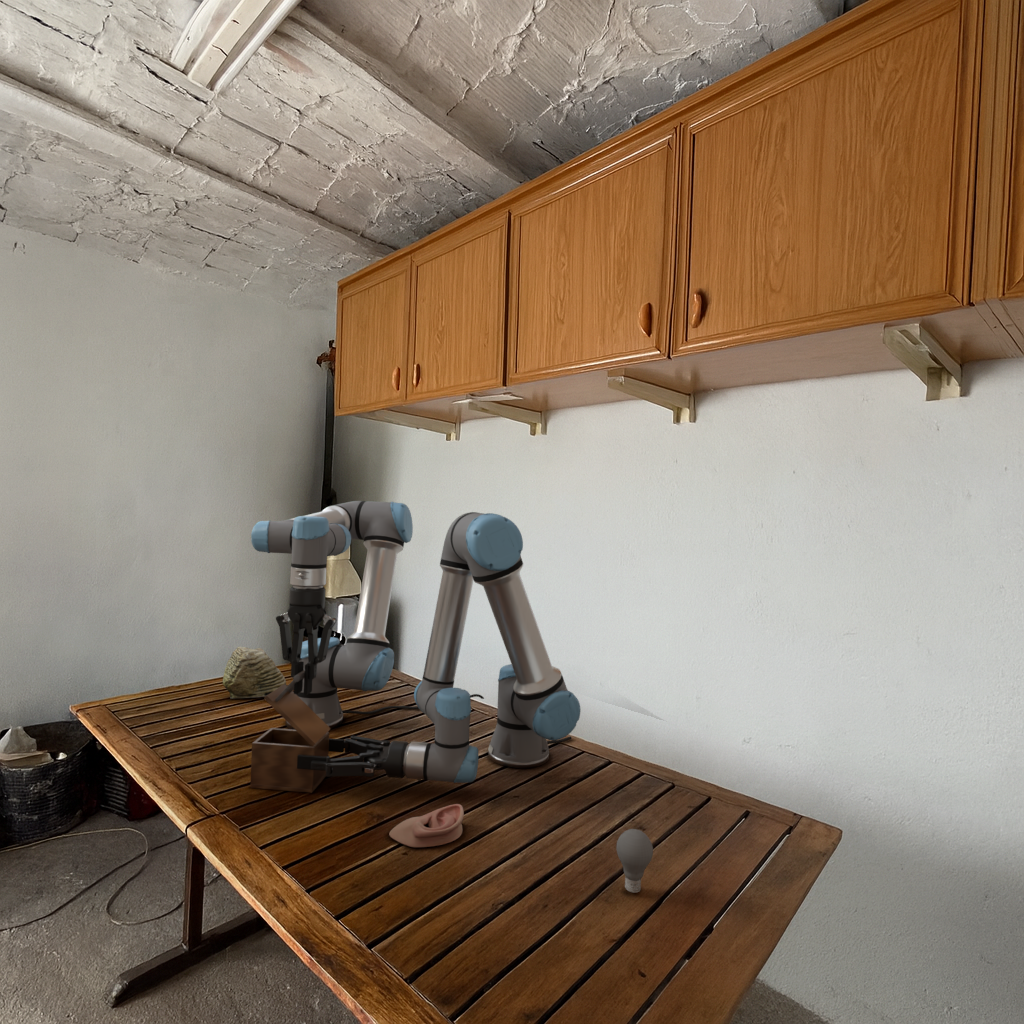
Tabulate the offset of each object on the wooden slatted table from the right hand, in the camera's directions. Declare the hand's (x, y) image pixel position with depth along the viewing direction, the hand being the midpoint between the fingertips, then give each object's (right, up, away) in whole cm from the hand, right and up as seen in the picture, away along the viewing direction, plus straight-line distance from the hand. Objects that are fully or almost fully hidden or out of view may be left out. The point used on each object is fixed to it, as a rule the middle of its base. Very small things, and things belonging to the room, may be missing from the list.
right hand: (307, 752), depth 140 cm
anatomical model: (+29, -8, -19) cm, 36 cm away
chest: (-4, -6, 0) cm, 8 cm away
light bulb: (+65, -10, -34) cm, 75 cm away
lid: (-2, +8, 0) cm, 8 cm away
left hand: (-1, +13, 0) cm, 13 cm away
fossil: (-35, -4, +58) cm, 68 cm away
